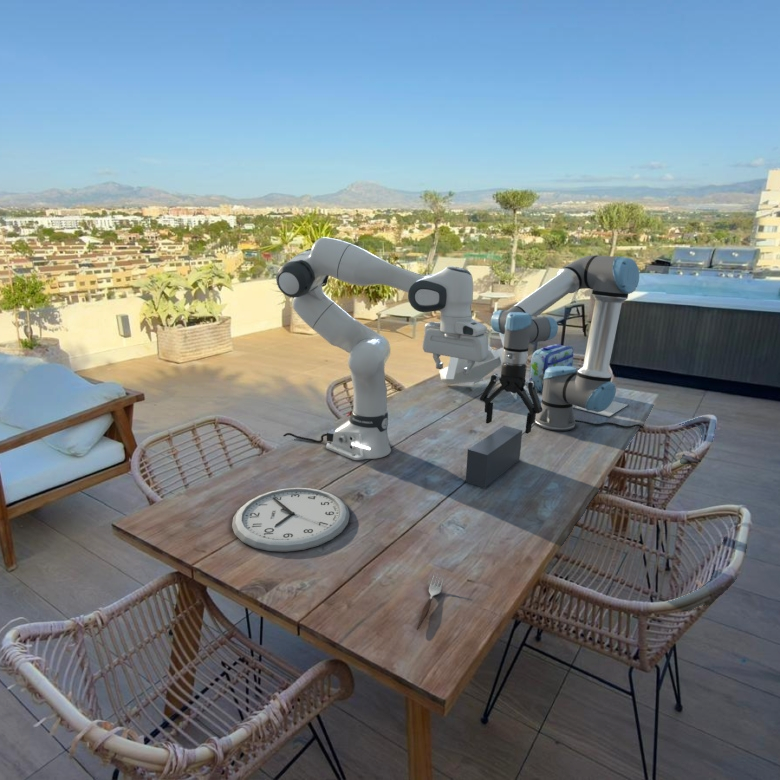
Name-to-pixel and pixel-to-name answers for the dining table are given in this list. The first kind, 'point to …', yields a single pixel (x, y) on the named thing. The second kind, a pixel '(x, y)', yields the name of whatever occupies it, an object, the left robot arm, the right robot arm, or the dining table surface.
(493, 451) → the box
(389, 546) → the dining table surface
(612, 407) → the invitation card
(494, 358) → the white plastic object
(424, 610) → the fork
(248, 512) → the wall clock
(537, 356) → the lunch box
